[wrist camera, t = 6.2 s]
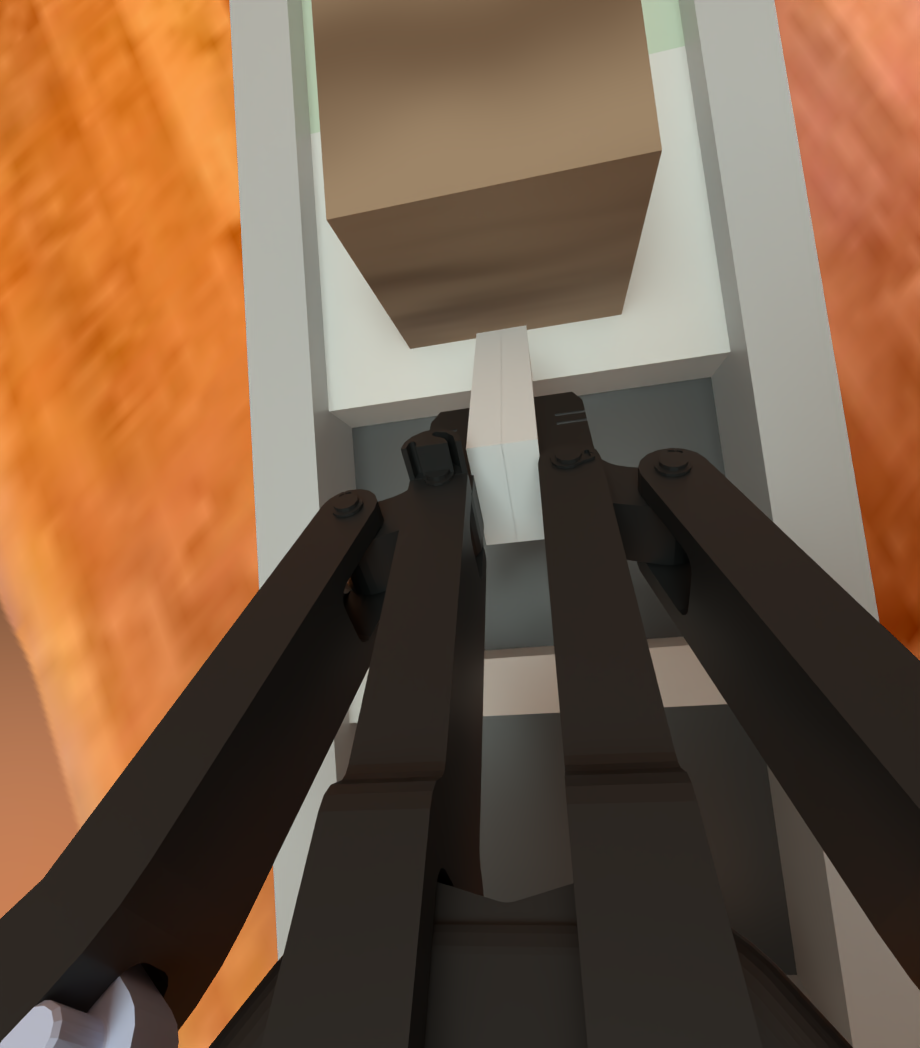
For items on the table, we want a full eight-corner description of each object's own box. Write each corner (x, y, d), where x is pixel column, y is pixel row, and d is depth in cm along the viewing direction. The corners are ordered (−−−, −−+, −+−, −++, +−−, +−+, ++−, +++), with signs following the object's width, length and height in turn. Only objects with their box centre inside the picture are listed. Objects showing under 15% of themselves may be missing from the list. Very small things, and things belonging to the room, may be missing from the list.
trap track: (871, 997, 20) (1042, 1225, 13) (336, 981, 23) (242, 1157, 16) (683, -205, 25) (732, -502, 18) (272, -79, 28) (180, -290, 21)
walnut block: (621, 314, 20) (661, 150, 12) (410, 349, 22) (326, 219, 14) (596, 115, 21) (619, -156, 13) (394, 160, 22) (307, -63, 15)
